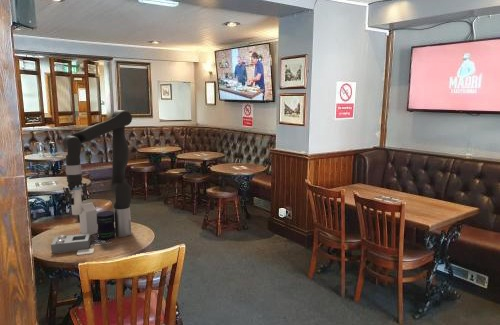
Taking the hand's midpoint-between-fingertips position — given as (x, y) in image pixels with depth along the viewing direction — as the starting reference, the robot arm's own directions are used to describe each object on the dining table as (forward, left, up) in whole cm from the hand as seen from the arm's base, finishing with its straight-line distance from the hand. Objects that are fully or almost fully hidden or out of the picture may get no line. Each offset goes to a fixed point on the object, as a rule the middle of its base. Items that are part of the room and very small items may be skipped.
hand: (76, 203), depth 198 cm
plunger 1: (+9, -3, -25) cm, 26 cm away
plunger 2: (+9, +3, -25) cm, 26 cm away
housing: (+4, 0, -25) cm, 25 cm away
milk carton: (-3, -21, -25) cm, 33 cm away
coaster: (-4, +10, -25) cm, 27 cm away
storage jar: (-14, -10, -25) cm, 30 cm away
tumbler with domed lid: (0, 0, -6) cm, 6 cm away
